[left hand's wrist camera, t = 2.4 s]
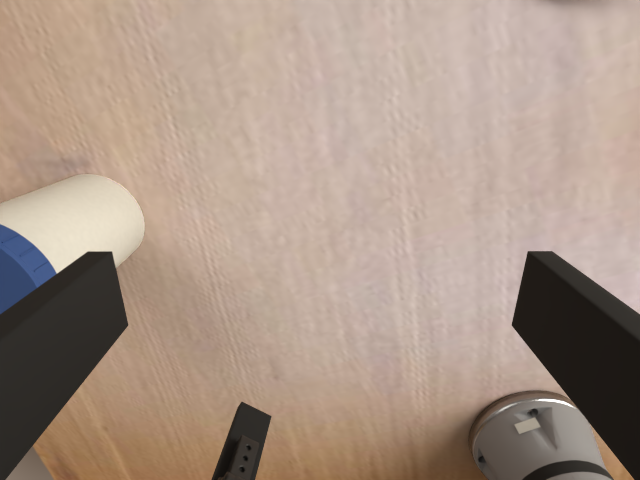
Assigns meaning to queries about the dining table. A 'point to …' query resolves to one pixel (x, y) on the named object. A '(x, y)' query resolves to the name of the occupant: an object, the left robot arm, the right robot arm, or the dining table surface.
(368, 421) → the dining table surface
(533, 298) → the left robot arm
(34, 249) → the lid
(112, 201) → the jar
